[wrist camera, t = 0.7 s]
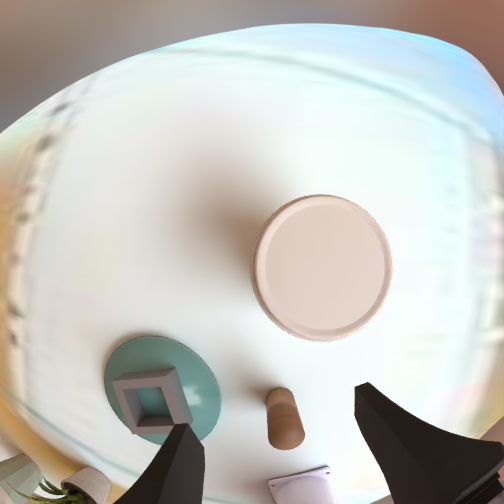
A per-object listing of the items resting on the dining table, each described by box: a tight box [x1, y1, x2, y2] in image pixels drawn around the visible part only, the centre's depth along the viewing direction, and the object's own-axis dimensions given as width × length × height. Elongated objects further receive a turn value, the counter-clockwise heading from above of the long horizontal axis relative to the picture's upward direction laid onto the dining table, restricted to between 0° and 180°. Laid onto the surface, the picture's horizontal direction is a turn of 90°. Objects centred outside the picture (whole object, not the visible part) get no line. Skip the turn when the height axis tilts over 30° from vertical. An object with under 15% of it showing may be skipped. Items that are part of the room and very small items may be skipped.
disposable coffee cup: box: [0, 455, 43, 504], centre depth 17 cm, size 11×11×15 cm
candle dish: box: [104, 336, 221, 445], centre depth 24 cm, size 14×14×4 cm
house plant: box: [7, 467, 112, 504], centre depth 16 cm, size 14×14×16 cm
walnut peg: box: [266, 388, 305, 450], centre depth 22 cm, size 3×3×8 cm
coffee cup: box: [250, 194, 393, 342], centre depth 22 cm, size 9×9×12 cm
